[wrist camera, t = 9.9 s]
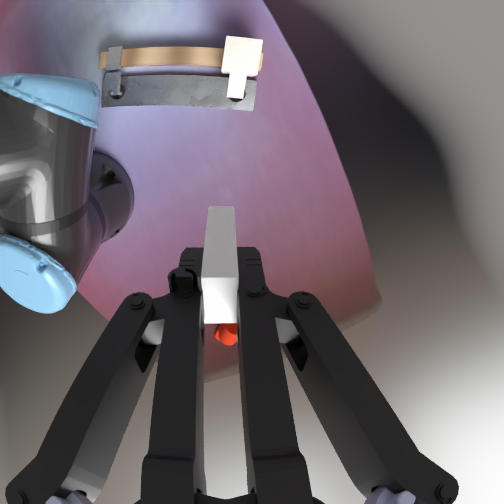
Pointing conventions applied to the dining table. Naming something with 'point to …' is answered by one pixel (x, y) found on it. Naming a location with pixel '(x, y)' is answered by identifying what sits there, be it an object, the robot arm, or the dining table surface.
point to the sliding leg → (240, 62)
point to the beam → (170, 57)
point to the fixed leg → (113, 78)
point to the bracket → (227, 333)
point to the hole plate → (179, 92)
